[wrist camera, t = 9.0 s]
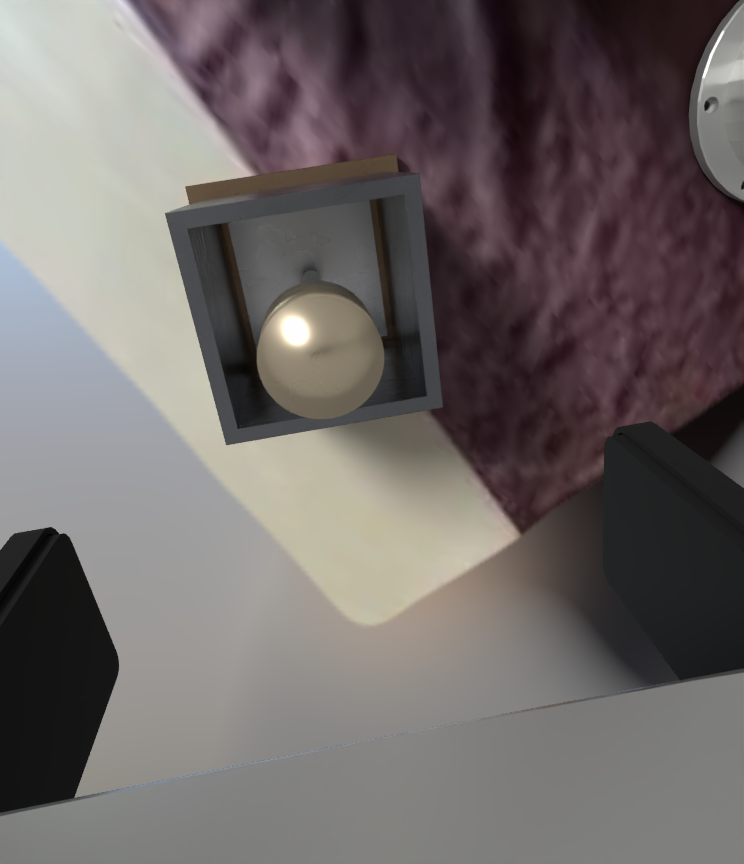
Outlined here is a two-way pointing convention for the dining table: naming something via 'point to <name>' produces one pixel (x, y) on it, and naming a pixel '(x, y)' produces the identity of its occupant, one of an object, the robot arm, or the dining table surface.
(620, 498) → the robot arm
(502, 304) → the dining table surface
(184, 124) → the dining table surface
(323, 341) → the plunger
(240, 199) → the press housing
